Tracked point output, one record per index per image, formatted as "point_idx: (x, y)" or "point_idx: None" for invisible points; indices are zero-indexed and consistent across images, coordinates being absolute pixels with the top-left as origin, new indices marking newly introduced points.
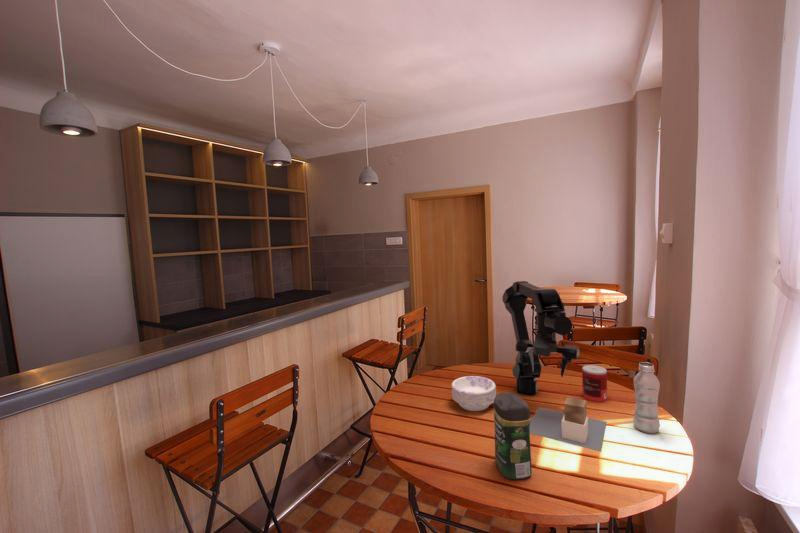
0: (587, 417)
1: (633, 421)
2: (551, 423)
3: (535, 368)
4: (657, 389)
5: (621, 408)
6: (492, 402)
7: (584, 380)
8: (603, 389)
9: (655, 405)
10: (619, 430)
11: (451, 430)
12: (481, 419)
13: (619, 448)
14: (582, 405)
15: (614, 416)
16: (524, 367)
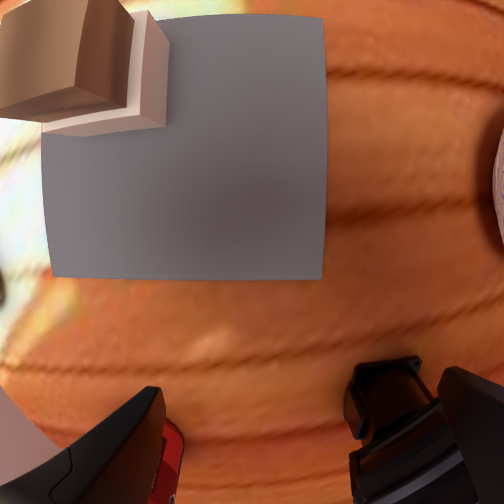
0: (43, 125)
1: None
2: (232, 136)
3: (387, 471)
4: None
5: (68, 397)
6: (498, 155)
7: (155, 479)
8: None
9: None
10: (23, 244)
11: (495, 5)
12: (478, 83)
13: (13, 120)
14: (4, 32)
15: (59, 340)
16: (452, 440)
